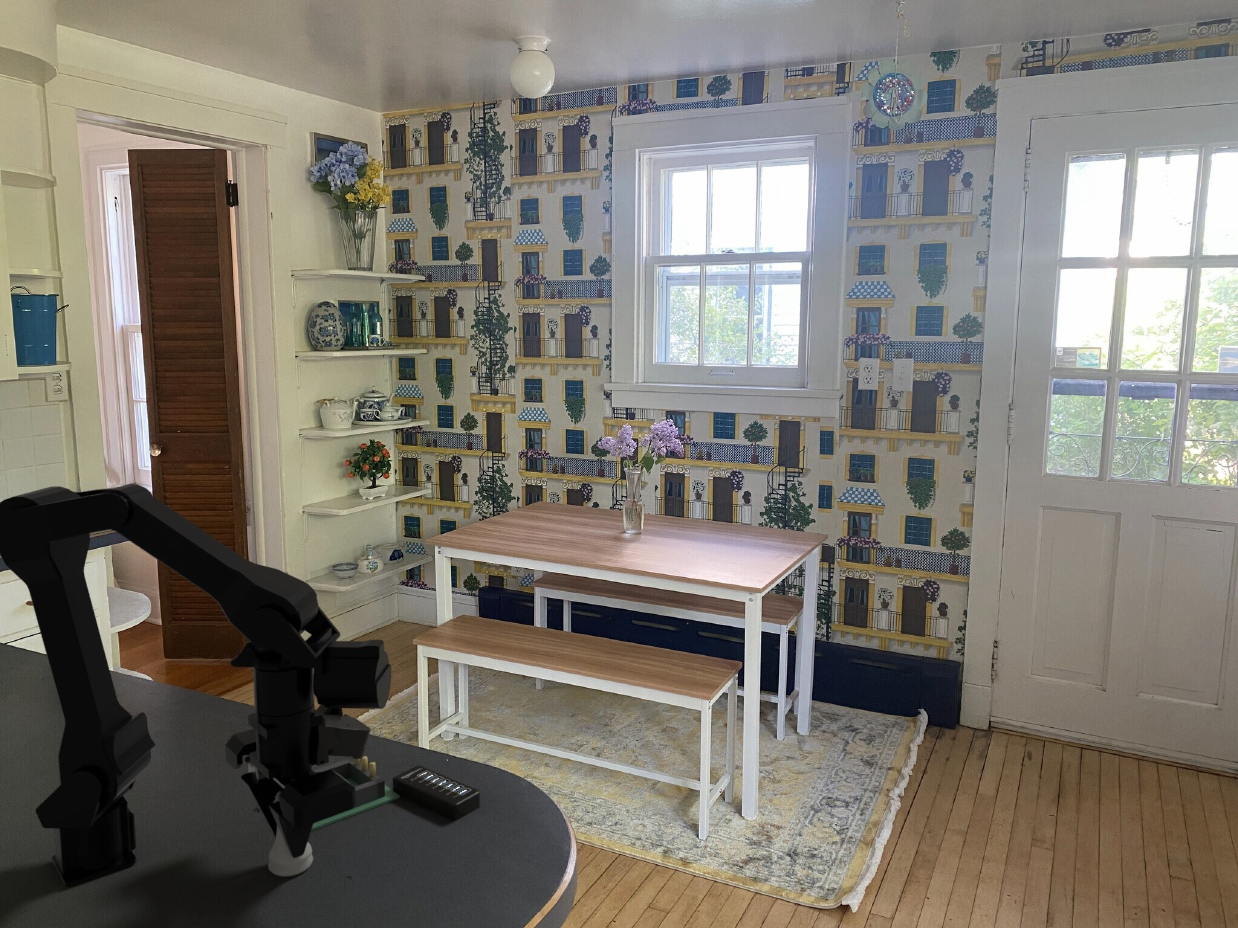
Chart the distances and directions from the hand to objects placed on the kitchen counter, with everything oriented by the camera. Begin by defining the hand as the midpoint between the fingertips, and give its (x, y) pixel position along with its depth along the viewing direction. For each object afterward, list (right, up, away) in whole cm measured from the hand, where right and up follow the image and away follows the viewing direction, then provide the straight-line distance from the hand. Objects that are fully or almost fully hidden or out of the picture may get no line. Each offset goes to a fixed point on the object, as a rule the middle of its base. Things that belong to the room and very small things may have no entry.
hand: (290, 847), depth 94 cm
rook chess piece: (0, -2, 0) cm, 2 cm away
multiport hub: (+12, -1, +15) cm, 19 cm away
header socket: (0, 0, +14) cm, 14 cm away
